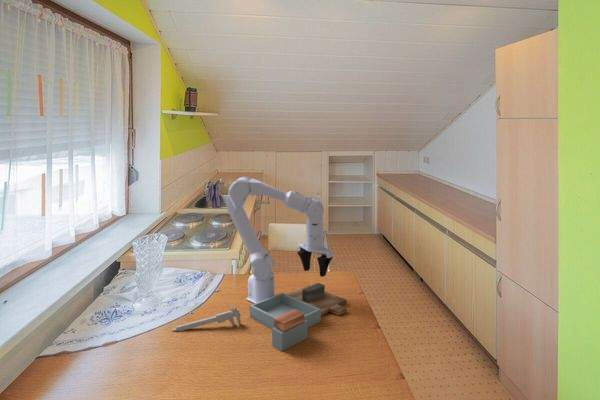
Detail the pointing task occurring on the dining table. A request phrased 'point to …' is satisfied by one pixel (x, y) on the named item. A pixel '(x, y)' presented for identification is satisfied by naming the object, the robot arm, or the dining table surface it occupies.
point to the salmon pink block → (289, 320)
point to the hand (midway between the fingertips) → (314, 273)
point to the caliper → (212, 320)
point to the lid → (320, 299)
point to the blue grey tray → (279, 306)
